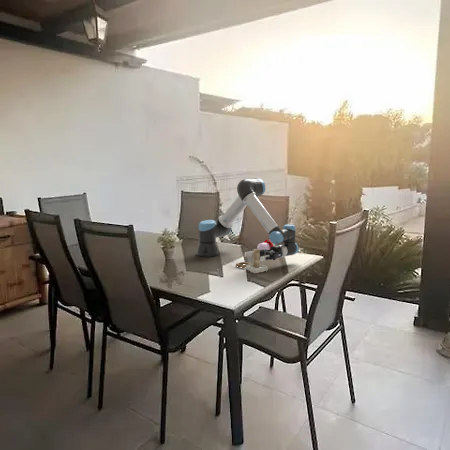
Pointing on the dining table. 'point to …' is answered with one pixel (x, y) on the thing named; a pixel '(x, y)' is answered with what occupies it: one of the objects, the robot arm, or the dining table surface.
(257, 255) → the dowel
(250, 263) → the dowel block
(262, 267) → the tray
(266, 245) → the mushroom
